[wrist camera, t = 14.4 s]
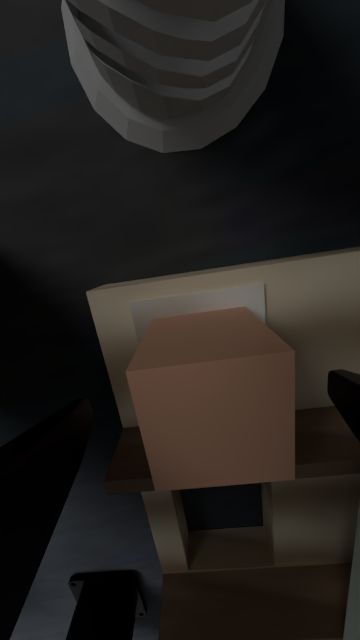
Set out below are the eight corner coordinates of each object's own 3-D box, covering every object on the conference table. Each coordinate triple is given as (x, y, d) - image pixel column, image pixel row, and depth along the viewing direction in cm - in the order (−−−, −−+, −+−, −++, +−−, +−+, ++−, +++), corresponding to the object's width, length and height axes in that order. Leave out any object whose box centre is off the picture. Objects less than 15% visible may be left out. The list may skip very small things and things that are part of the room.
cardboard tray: (378, 525, 18) (460, 641, 13) (167, 540, 20) (160, 651, 14) (425, 236, 12) (631, 221, 6) (103, 284, 13) (45, 307, 8)
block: (244, 306, 10) (295, 351, 6) (250, 387, 12) (294, 479, 7) (152, 319, 11) (125, 371, 6) (167, 396, 12) (155, 491, 7)
